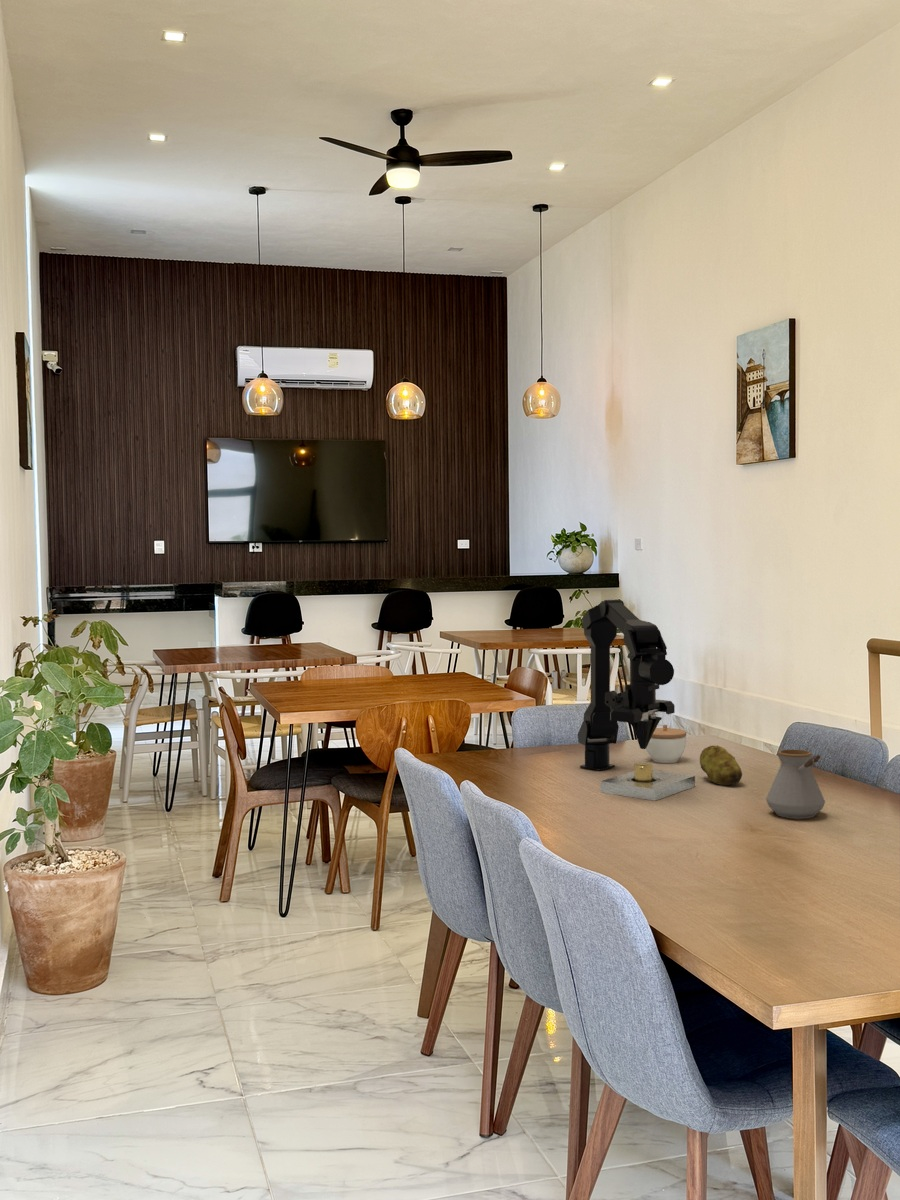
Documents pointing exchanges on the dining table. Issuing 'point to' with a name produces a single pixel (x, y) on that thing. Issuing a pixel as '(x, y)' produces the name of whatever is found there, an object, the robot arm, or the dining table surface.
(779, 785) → the coffee pot
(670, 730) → the lidded jar
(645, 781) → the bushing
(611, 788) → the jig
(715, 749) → the potato
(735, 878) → the dining table surface
